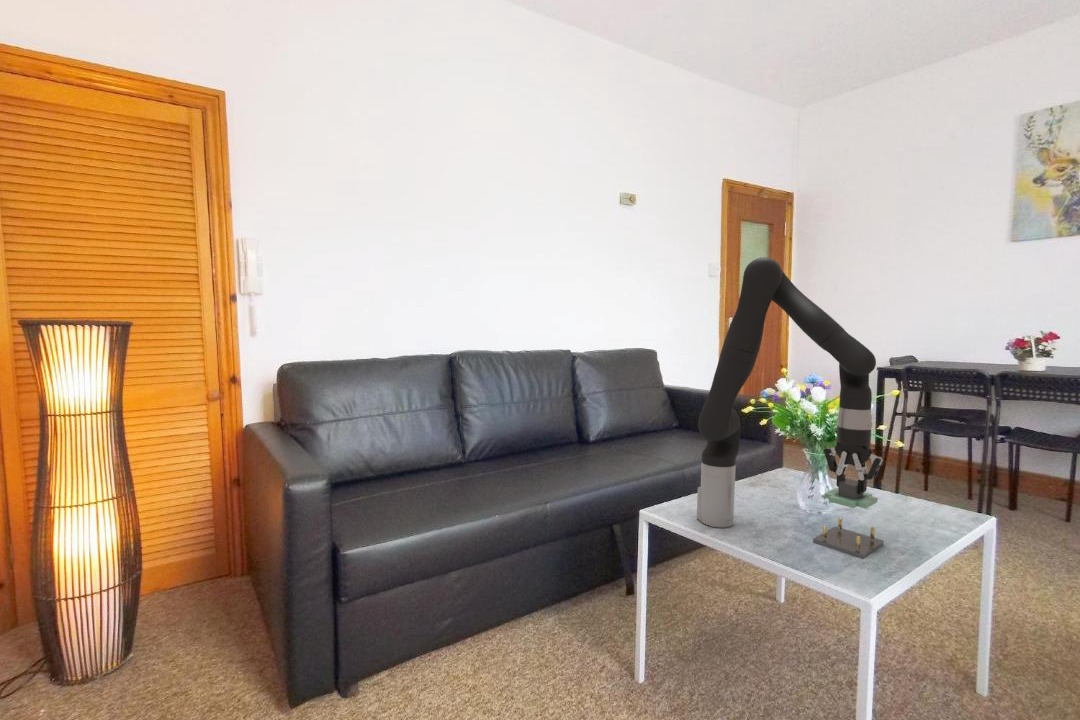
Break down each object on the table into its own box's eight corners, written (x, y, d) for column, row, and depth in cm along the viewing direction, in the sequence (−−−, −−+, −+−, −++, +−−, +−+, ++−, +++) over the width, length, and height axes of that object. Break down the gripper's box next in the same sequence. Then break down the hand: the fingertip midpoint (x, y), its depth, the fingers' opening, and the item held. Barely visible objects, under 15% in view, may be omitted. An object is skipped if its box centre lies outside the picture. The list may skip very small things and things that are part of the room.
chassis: (812, 542, 143) (813, 525, 142) (834, 529, 151) (835, 513, 150) (862, 558, 133) (864, 540, 133) (883, 544, 142) (884, 527, 141)
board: (820, 499, 141) (821, 481, 141) (839, 490, 148) (840, 473, 148) (862, 510, 134) (863, 491, 133) (880, 500, 140) (881, 482, 140)
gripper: (818, 423, 142) (816, 487, 144) (879, 432, 131) (875, 502, 133) (831, 419, 147) (829, 482, 149) (891, 428, 136) (887, 495, 137)
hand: (851, 491), depth 141 cm, fingers closed on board, 4 cm apart
